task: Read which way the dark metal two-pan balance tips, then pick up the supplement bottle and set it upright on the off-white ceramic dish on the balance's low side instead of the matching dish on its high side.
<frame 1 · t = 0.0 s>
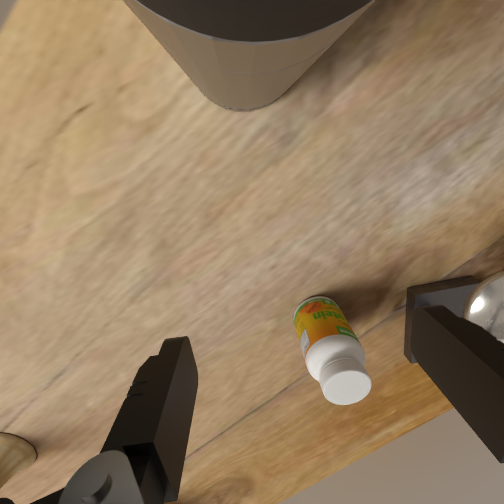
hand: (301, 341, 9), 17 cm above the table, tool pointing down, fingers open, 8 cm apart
balance: (435, 317, 31), on the table
supplement bottle: (315, 313, 30), on the table
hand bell: (6, 449, 38), on the table
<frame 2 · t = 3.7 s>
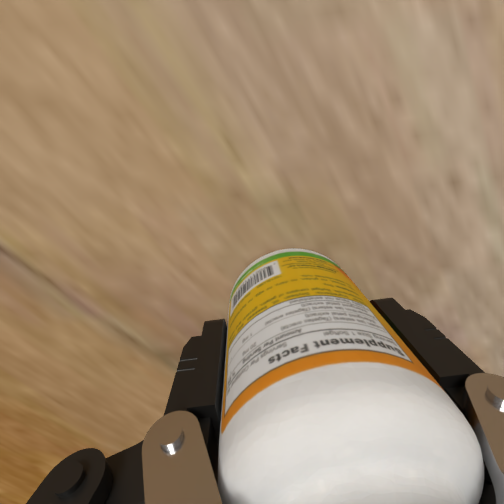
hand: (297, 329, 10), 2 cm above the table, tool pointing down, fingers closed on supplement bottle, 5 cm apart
supplement bottle: (288, 298, 12), on the table, touching gripper
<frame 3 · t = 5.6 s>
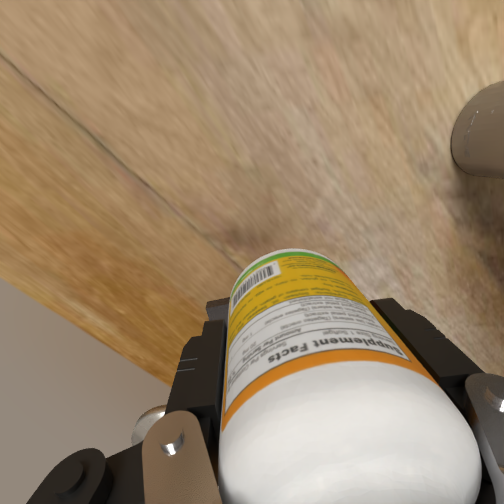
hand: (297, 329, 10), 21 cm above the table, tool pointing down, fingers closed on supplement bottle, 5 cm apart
balance: (250, 316, 35), on the table
supplement bottle: (288, 298, 12), point 19 cm above the table, touching gripper
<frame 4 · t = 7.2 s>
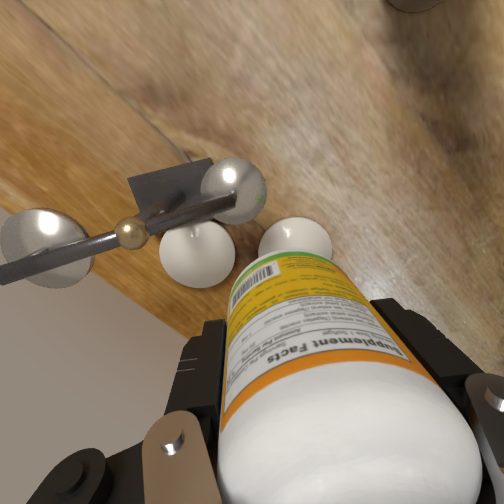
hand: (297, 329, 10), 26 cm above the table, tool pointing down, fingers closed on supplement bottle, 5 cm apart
balance: (180, 195, 33), on the table
dish low side: (293, 251, 37), on the table
dish high side: (198, 252, 36), on the table
supplement bottle: (287, 298, 12), point 23 cm above the table, touching gripper
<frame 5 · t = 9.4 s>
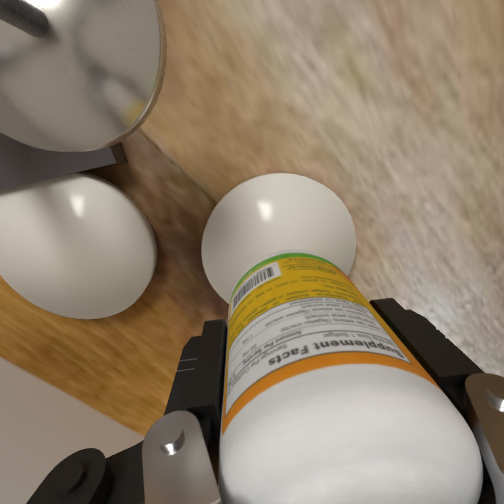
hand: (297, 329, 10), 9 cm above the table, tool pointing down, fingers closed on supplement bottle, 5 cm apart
balance: (17, 116, 15), on the table
dish low side: (277, 247, 18), on the table
dish high side: (81, 246, 18), on the table
supplement bottle: (288, 299, 12), point 7 cm above the table, touching gripper
when the fingers open (5 cm above the table, at t = 11.1 s): supplement bottle drops 1 cm, resting on dish low side.
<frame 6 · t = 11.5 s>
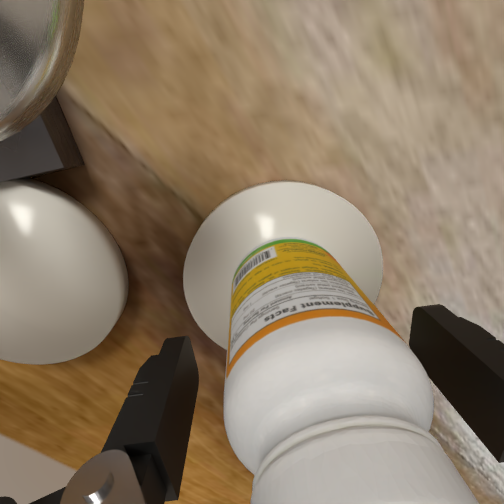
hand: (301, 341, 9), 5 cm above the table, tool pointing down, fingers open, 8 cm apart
dish low side: (280, 274, 14), on the table
dish high side: (30, 272, 14), on the table
supplement bottle: (284, 282, 13), point 1 cm above the table, touching dish low side
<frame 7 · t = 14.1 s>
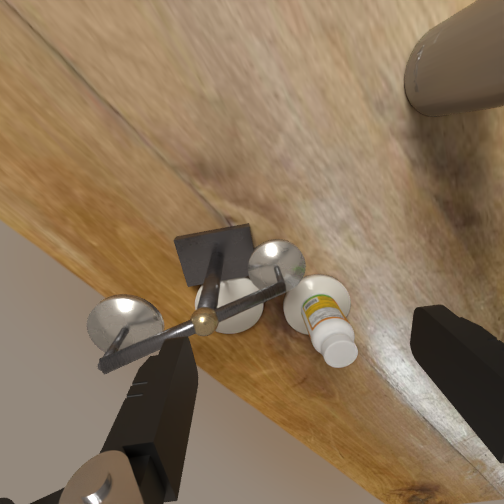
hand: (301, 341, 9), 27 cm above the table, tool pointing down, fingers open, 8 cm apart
balance: (218, 253, 37), on the table
dish low side: (315, 303, 40), on the table
dish high side: (229, 301, 40), on the table
supplement bottle: (317, 306, 40), point 1 cm above the table, touching dish low side
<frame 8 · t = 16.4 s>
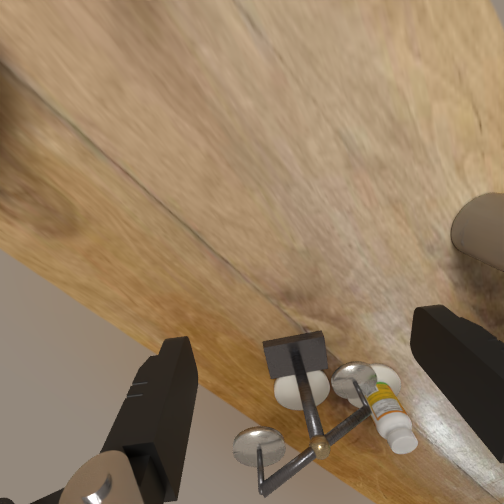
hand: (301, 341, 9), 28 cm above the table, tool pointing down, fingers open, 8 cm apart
balance: (294, 352, 45), on the table
dish low side: (370, 384, 49), on the table
dish high side: (300, 385, 48), on the table
supplement bottle: (373, 388, 48), point 1 cm above the table, touching dish low side
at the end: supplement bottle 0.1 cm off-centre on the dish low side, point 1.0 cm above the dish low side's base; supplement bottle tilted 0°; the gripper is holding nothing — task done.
